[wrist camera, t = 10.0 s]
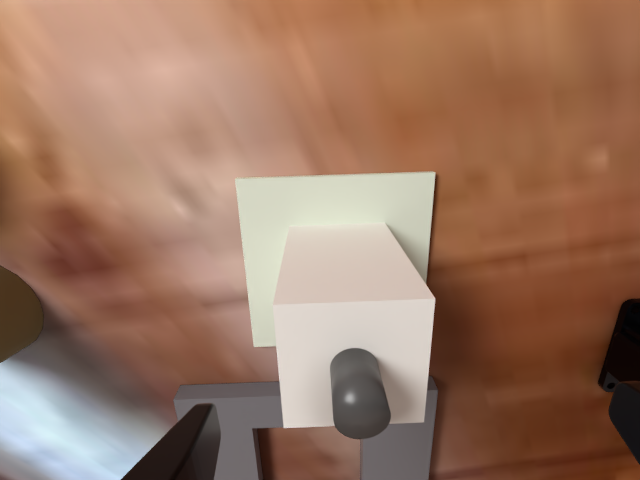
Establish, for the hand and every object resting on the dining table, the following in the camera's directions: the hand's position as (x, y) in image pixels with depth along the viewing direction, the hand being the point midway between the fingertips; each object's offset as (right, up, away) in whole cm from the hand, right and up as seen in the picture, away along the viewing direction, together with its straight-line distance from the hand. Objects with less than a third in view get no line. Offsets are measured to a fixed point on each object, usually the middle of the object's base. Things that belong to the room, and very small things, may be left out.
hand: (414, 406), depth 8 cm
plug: (-1, +2, +11) cm, 11 cm away
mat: (-1, +2, +12) cm, 12 cm away
